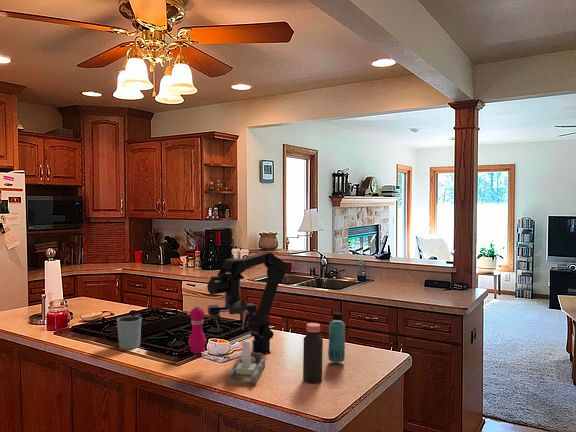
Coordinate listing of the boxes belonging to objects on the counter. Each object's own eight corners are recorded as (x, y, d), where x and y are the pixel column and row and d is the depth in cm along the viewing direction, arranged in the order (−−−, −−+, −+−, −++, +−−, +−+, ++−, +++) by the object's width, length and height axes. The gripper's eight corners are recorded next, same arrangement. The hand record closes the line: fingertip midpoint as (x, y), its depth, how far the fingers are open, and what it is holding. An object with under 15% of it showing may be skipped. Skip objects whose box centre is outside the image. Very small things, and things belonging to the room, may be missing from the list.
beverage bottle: (335, 359, 194) (336, 310, 193) (348, 363, 189) (349, 313, 188) (324, 363, 189) (325, 312, 188) (337, 367, 184) (338, 315, 184)
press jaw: (239, 368, 177) (240, 338, 177) (256, 369, 177) (257, 339, 176) (235, 373, 171) (235, 343, 171) (253, 375, 171) (253, 344, 170)
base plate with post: (239, 365, 185) (239, 351, 184) (265, 367, 183) (265, 353, 183) (226, 384, 166) (226, 368, 166) (255, 386, 165) (255, 370, 165)
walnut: (254, 363, 183) (254, 354, 183) (256, 366, 180) (256, 357, 180) (244, 364, 182) (244, 354, 182) (246, 367, 179) (246, 358, 179)
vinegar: (308, 385, 167) (309, 328, 166) (299, 378, 173) (300, 323, 172) (325, 382, 170) (326, 326, 169) (316, 375, 176) (317, 321, 175)
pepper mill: (206, 349, 204) (207, 302, 203) (204, 355, 197) (204, 306, 196) (189, 349, 204) (190, 302, 203) (186, 355, 196) (187, 306, 195)
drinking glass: (131, 351, 200) (131, 322, 200) (111, 348, 203) (111, 320, 203) (146, 344, 210) (146, 316, 209) (126, 341, 213) (126, 314, 212)
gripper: (211, 296, 179) (211, 338, 179) (260, 294, 184) (260, 334, 185) (207, 290, 189) (207, 330, 190) (254, 288, 195) (253, 327, 195)
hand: (232, 330), depth 190 cm, fingers open, 9 cm apart
